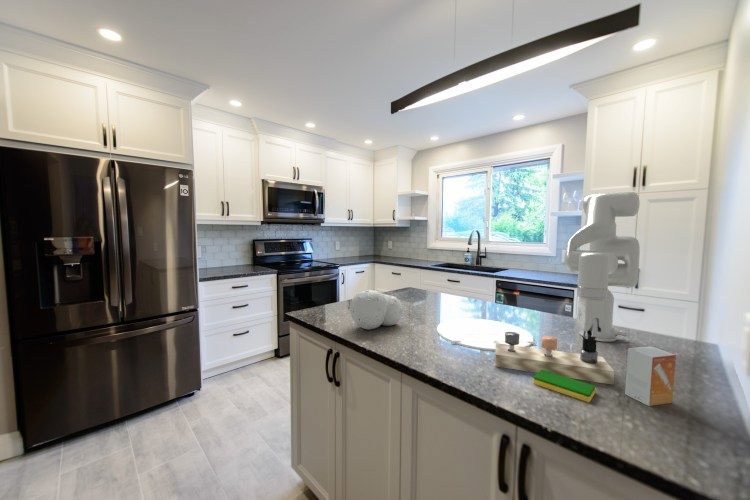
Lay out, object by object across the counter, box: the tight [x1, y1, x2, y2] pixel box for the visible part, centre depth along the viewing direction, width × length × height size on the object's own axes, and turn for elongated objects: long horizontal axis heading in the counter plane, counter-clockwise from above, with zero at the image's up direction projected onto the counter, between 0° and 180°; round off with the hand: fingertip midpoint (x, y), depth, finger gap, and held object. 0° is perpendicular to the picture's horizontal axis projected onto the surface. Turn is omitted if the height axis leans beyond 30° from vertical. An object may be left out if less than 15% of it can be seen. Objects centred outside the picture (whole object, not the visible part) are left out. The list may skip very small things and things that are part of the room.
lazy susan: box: [436, 318, 537, 352], centre depth 133 cm, size 40×39×3 cm
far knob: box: [505, 332, 519, 352], centre depth 104 cm, size 4×4×7 cm
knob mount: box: [494, 343, 615, 385], centre depth 100 cm, size 32×11×4 cm, turn 68°
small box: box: [624, 345, 677, 407], centre depth 81 cm, size 8×6×13 cm
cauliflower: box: [349, 289, 404, 330], centre depth 143 cm, size 20×25×22 cm
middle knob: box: [540, 335, 558, 357], centre depth 100 cm, size 4×4×7 cm
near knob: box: [579, 348, 599, 363], centre depth 96 cm, size 4×4×7 cm
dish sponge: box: [532, 370, 596, 403], centre depth 87 cm, size 7×14×2 cm, turn 44°
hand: (589, 350), depth 95 cm, fingers closed
